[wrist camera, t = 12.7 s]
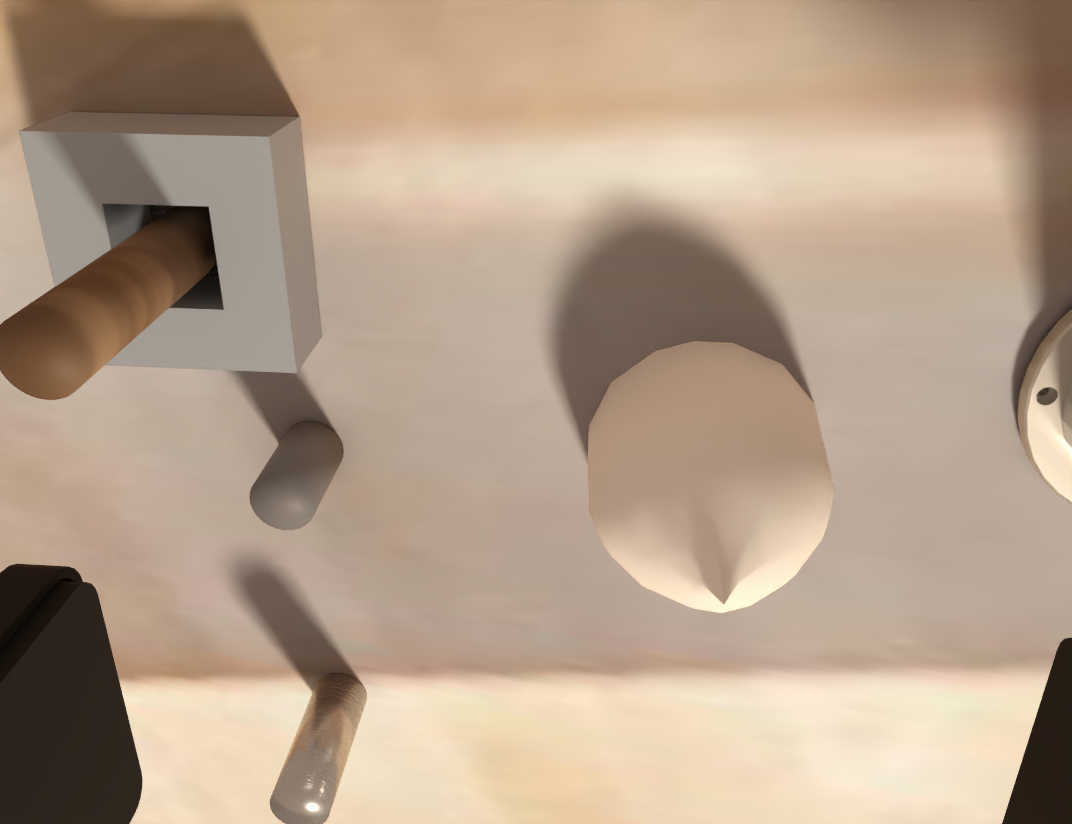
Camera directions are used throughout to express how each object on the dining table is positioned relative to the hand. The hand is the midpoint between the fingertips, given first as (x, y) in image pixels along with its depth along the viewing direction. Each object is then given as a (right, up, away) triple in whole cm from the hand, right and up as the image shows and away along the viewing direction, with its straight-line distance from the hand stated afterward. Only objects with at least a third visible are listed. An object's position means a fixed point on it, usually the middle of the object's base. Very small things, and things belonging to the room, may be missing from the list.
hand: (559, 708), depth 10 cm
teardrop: (+8, +1, +38) cm, 38 cm away
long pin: (-15, +11, +34) cm, 39 cm away
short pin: (-11, +1, +39) cm, 41 cm away
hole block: (-15, +11, +34) cm, 39 cm away
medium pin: (-11, -13, +46) cm, 50 cm away
